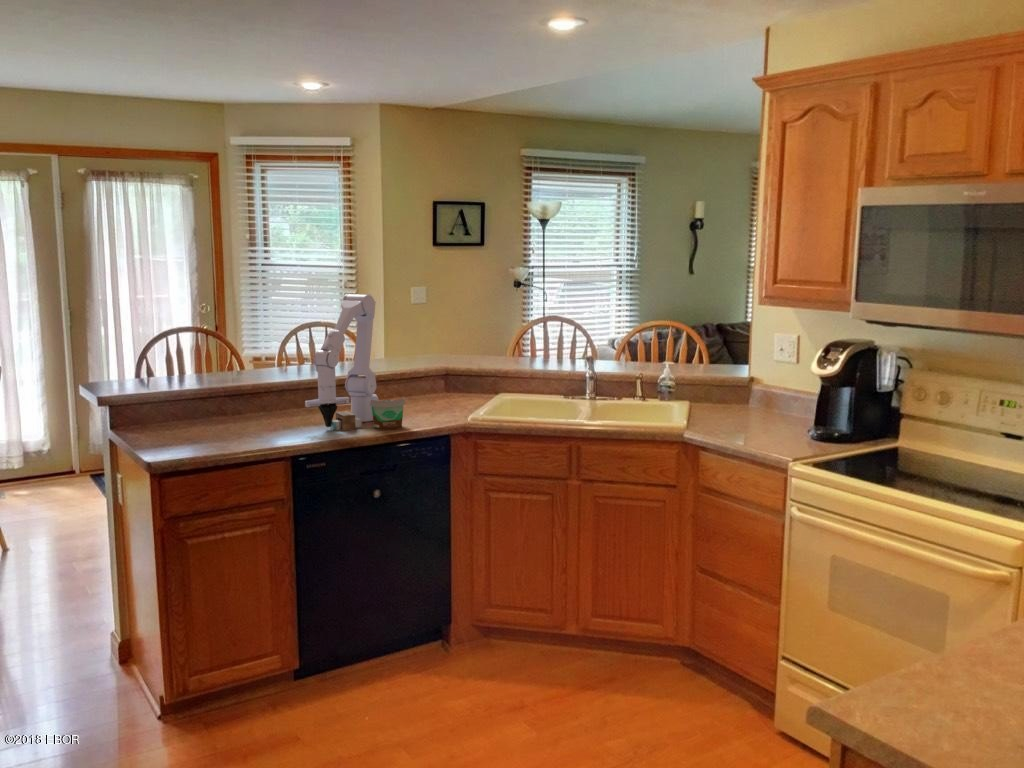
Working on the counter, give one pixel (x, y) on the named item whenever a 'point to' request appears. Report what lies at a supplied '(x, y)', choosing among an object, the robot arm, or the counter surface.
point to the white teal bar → (338, 424)
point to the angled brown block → (346, 420)
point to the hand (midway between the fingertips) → (328, 426)
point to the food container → (387, 414)
